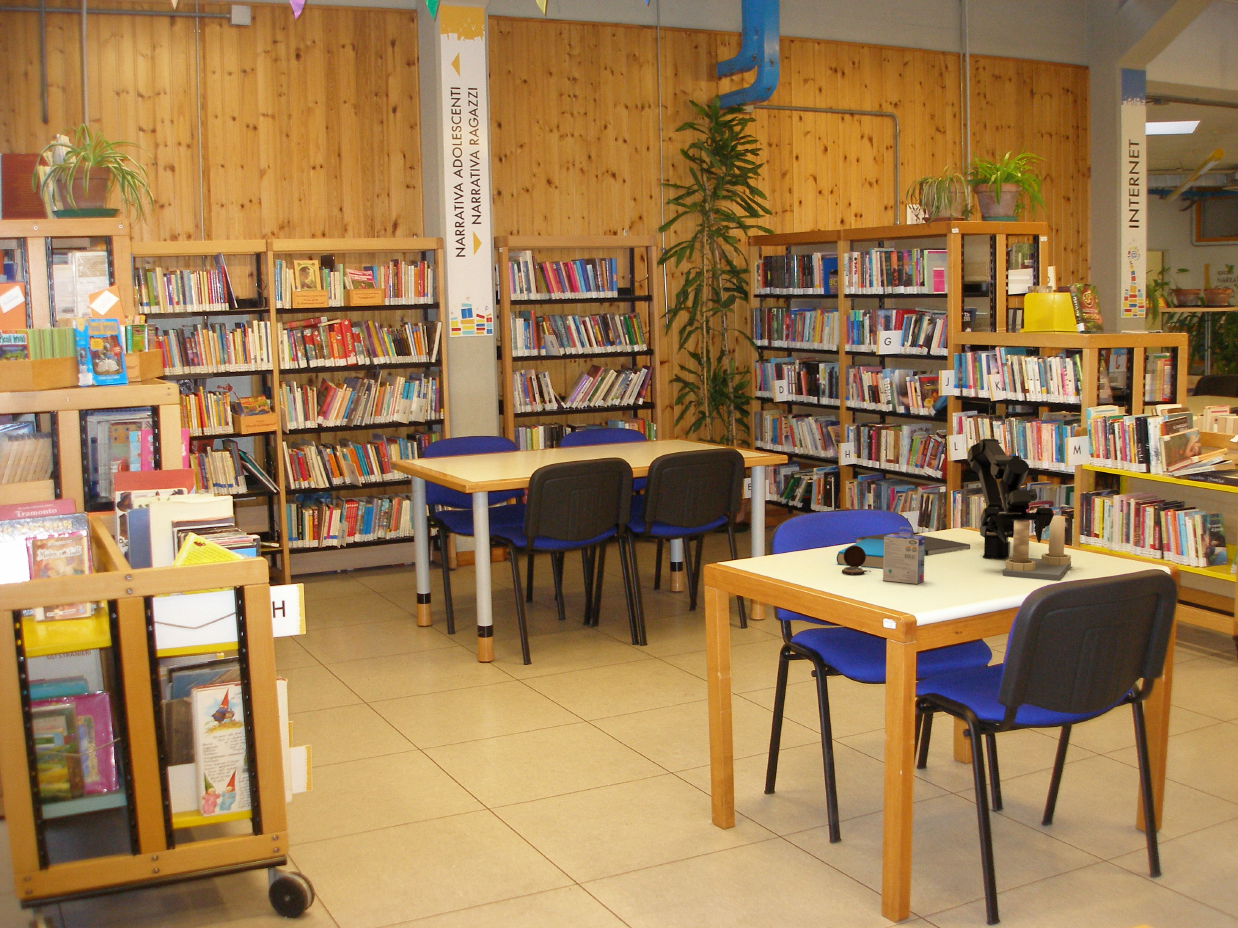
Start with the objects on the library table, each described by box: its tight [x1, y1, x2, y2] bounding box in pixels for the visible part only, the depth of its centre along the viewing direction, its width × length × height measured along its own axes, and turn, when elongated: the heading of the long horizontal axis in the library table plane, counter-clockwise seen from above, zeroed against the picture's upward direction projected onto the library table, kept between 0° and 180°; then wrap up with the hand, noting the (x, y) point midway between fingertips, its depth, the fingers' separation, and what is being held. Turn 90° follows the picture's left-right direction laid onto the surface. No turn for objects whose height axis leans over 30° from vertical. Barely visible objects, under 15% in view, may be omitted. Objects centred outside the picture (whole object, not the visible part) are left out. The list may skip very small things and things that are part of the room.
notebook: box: [855, 531, 971, 557], centre depth 365 cm, size 22×2×28 cm
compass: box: [841, 544, 872, 576], centre depth 325 cm, size 8×8×7 cm
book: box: [836, 538, 884, 570], centre depth 344 cm, size 17×4×25 cm
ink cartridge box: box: [882, 525, 925, 585], centre depth 313 cm, size 10×6×14 cm, turn 58°
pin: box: [1012, 520, 1031, 563], centre depth 321 cm, size 4×4×13 cm
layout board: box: [1002, 515, 1072, 582], centre depth 325 cm, size 15×22×14 cm
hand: (1022, 541), depth 320 cm, fingers open, 9 cm apart
